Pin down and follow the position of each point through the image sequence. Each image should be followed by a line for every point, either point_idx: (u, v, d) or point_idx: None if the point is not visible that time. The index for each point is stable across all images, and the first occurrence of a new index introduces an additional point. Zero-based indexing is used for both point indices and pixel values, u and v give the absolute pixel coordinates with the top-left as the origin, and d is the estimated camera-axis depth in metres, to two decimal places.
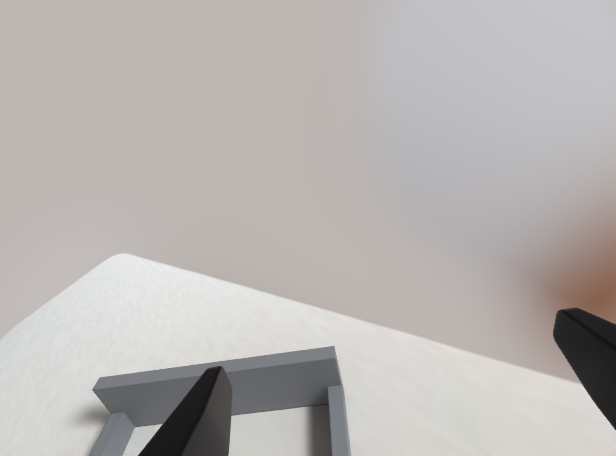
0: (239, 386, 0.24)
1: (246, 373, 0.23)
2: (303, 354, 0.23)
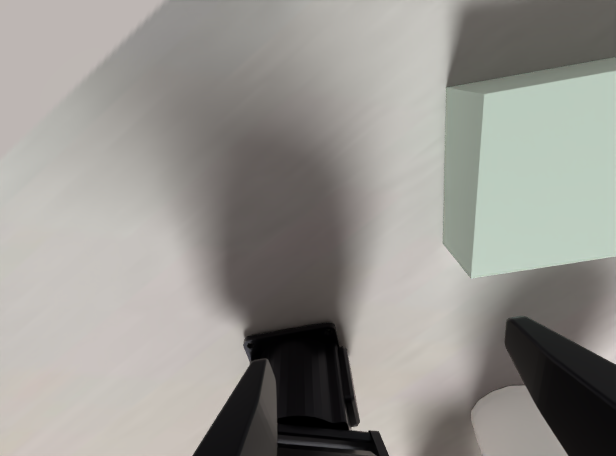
0: None
1: None
2: None
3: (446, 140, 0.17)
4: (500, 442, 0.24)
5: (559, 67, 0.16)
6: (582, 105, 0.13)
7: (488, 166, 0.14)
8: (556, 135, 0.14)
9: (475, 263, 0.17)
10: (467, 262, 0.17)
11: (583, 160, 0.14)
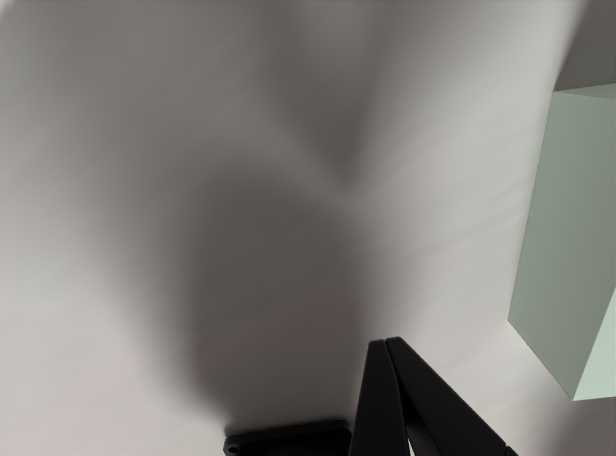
0: None
1: None
2: None
3: (540, 176, 0.11)
4: None
5: None
6: None
7: None
8: None
9: (585, 381, 0.10)
10: (566, 374, 0.11)
11: None
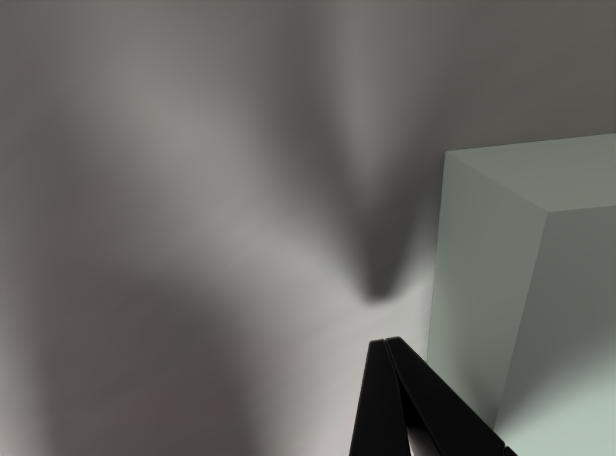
0: None
1: None
2: None
3: None
4: None
5: None
6: None
7: (532, 364, 0.06)
8: None
9: None
10: None
11: None
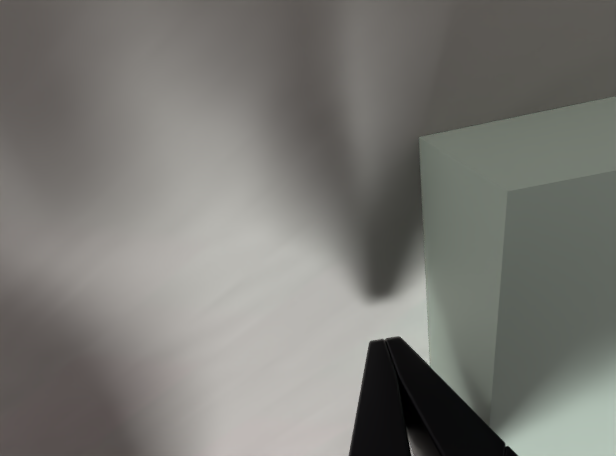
0: None
1: None
2: None
3: (424, 235, 0.09)
4: None
5: None
6: None
7: (519, 349, 0.06)
8: None
9: None
10: None
11: None
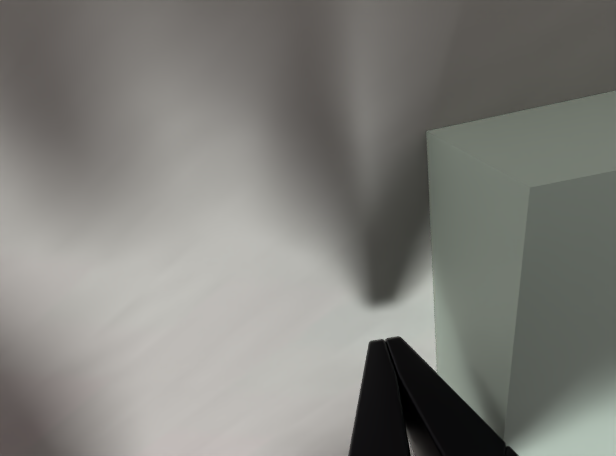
0: None
1: None
2: None
3: (433, 234, 0.08)
4: None
5: None
6: None
7: (537, 353, 0.05)
8: None
9: None
10: None
11: None
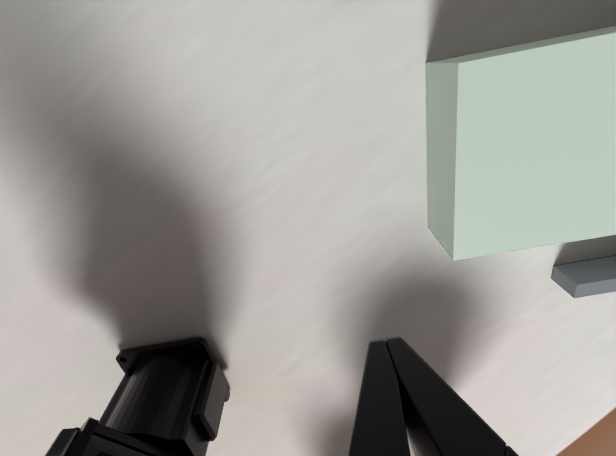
0: None
1: None
2: None
3: (427, 118, 0.17)
4: None
5: (542, 40, 0.15)
6: (562, 74, 0.13)
7: (466, 140, 0.14)
8: (535, 107, 0.13)
9: (457, 244, 0.16)
10: (449, 244, 0.17)
11: (566, 133, 0.14)
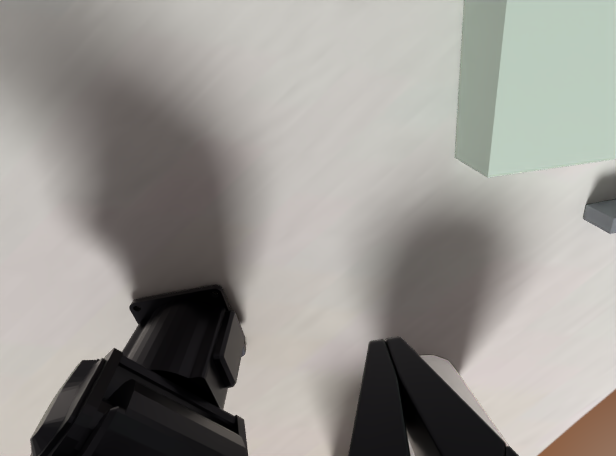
0: None
1: None
2: None
3: (463, 28, 0.16)
4: None
5: None
6: None
7: (513, 31, 0.13)
8: None
9: (493, 158, 0.15)
10: (484, 161, 0.16)
11: None
